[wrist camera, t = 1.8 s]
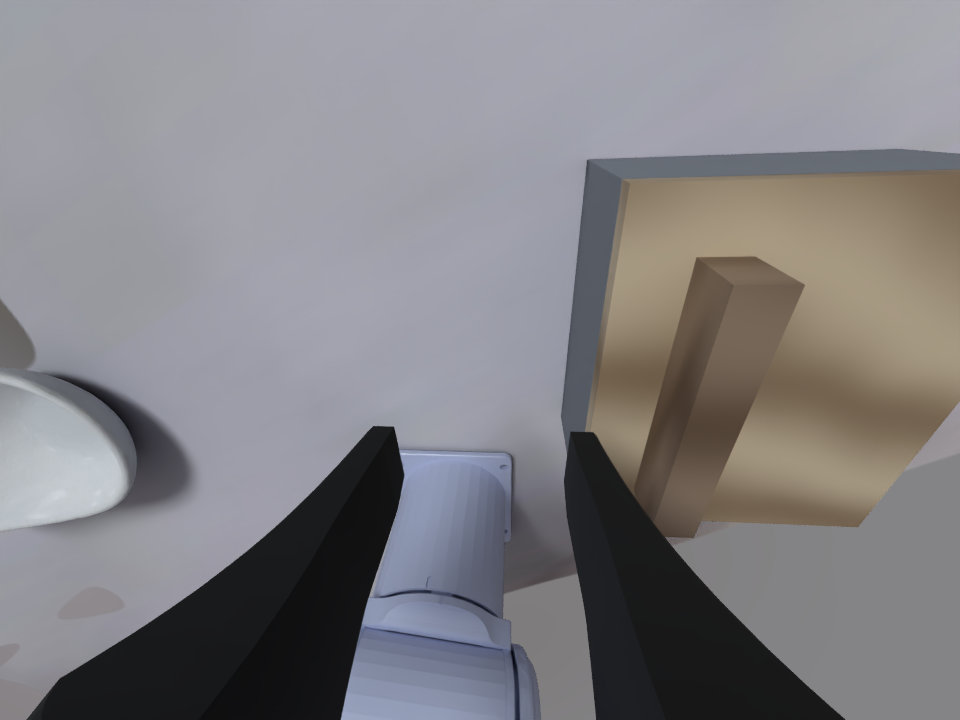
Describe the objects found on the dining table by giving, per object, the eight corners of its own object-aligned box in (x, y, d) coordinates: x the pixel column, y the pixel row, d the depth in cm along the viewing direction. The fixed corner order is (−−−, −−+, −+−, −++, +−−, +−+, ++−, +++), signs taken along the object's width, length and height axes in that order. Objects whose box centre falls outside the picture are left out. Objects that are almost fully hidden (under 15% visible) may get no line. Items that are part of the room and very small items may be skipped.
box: (768, 420, 22) (842, 509, 17) (561, 416, 23) (574, 499, 18) (900, 149, 15) (1098, 164, 10) (587, 159, 16) (621, 178, 11)
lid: (844, 511, 17) (901, 578, 15) (574, 500, 18) (584, 562, 16) (1103, 165, 10) (1309, 182, 7) (622, 179, 11) (656, 198, 8)
